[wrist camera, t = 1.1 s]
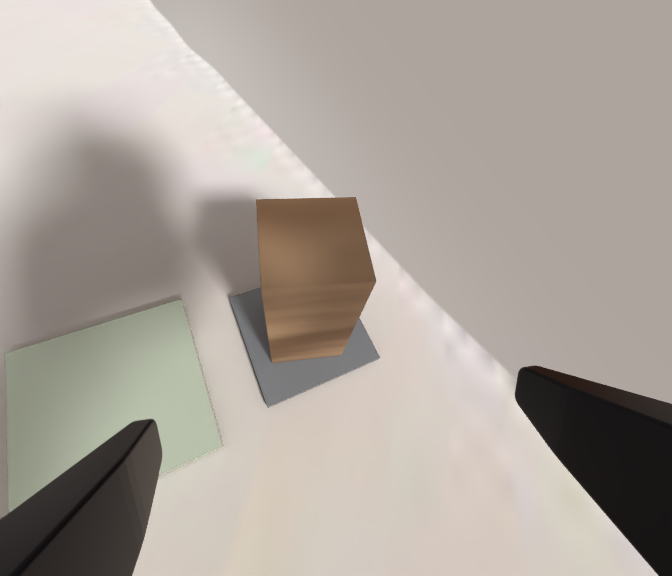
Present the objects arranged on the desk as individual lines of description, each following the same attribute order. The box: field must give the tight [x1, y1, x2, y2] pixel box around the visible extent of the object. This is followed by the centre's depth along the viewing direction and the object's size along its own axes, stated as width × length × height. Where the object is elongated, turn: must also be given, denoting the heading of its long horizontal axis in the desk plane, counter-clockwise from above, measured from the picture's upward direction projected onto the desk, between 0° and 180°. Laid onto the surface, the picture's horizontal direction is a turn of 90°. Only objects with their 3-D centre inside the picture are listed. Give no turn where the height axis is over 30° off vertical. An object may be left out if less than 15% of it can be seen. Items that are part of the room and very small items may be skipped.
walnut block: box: [256, 197, 376, 363], centre depth 18 cm, size 5×5×10 cm
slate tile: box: [230, 288, 380, 408], centre depth 23 cm, size 8×8×1 cm
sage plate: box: [5, 299, 223, 513], centre depth 19 cm, size 10×10×1 cm
